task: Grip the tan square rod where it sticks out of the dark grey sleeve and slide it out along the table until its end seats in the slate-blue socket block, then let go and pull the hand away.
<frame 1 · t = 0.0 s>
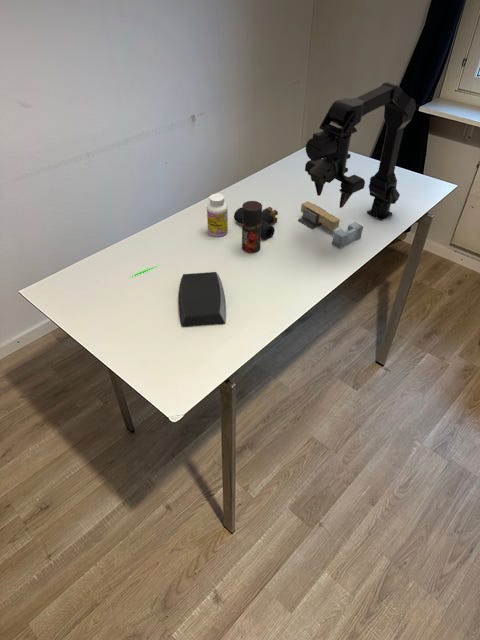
hand: (329, 201, 134), 15 cm above the table, tool pointing down, fingers open, 9 cm apart
slate-blue socket: (346, 241, 145), on the table
supplement bottle: (217, 232, 149), on the table
deodorant: (251, 248, 142), on the table
tan square rod: (319, 215, 150), point 3 cm above the table, slide at 0.0 cm
pen: (142, 274, 133), on the table
grey sleeve: (313, 221, 154), on the table
pipe connector: (260, 227, 152), on the table
external hard drive: (202, 303, 124), on the table
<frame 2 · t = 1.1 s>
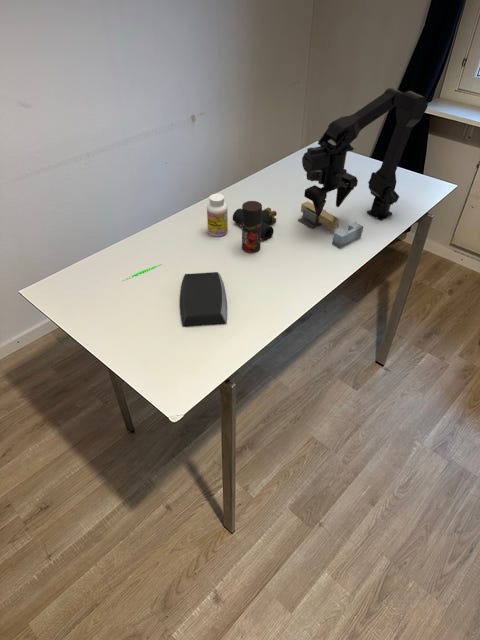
hand: (327, 211, 146), 6 cm above the table, tool pointing down, fingers open, 9 cm apart
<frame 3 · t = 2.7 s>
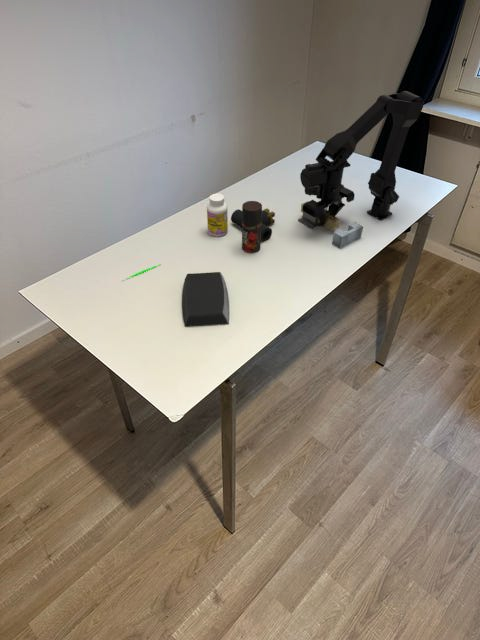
hand: (325, 224, 149), 2 cm above the table, tool pointing down, fingers closed on tan square rod, 3 cm apart
tan square rod: (319, 215, 150), point 3 cm above the table, slide at 0.0 cm, touching gripper
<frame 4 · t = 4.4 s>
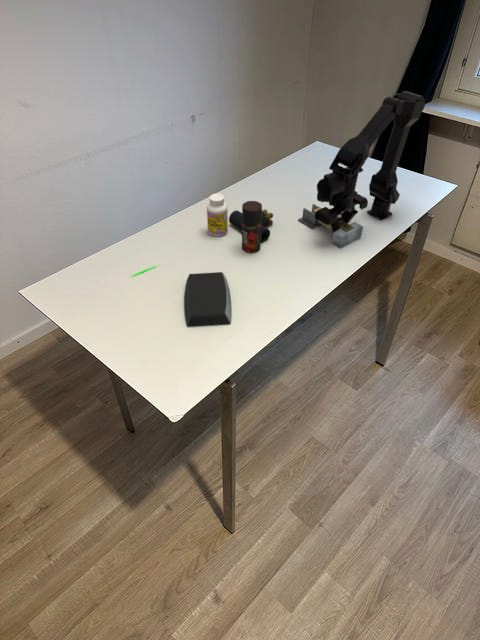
hand: (337, 231, 146), 2 cm above the table, tool pointing down, fingers closed on tan square rod, 3 cm apart
tan square rod: (331, 222, 147), point 3 cm above the table, slide at 5.5 cm, touching gripper
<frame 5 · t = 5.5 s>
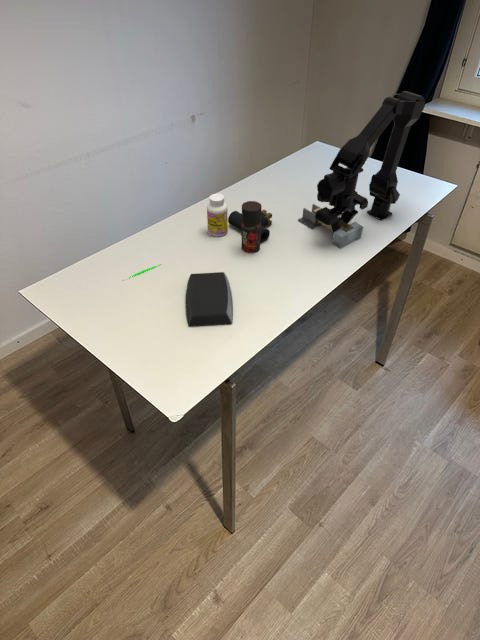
hand: (337, 231, 146), 2 cm above the table, tool pointing down, fingers closed on tan square rod, 3 cm apart
tan square rod: (331, 222, 147), point 3 cm above the table, slide at 5.5 cm, touching gripper
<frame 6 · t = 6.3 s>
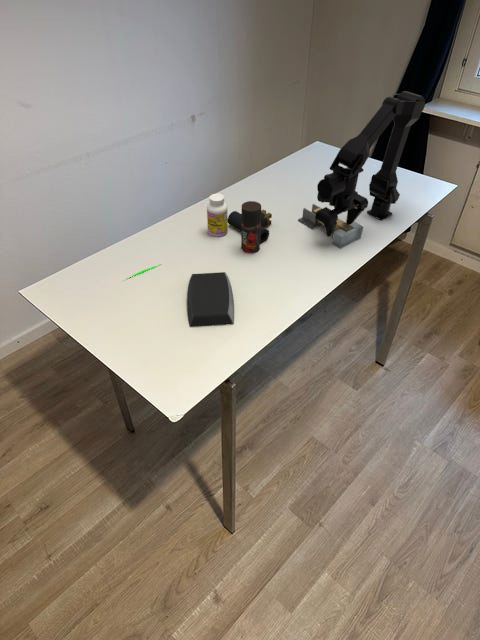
hand: (338, 231, 146), 2 cm above the table, tool pointing down, fingers open, 9 cm apart
tan square rod: (331, 222, 147), point 3 cm above the table, slide at 5.5 cm
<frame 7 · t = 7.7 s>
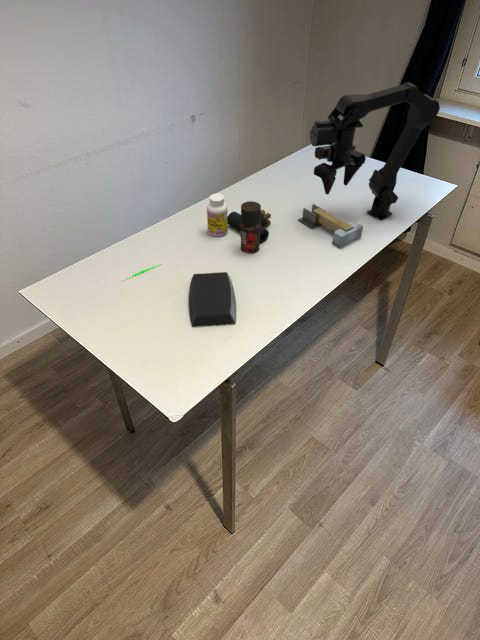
hand: (336, 189, 146), 12 cm above the table, tool pointing down, fingers open, 9 cm apart
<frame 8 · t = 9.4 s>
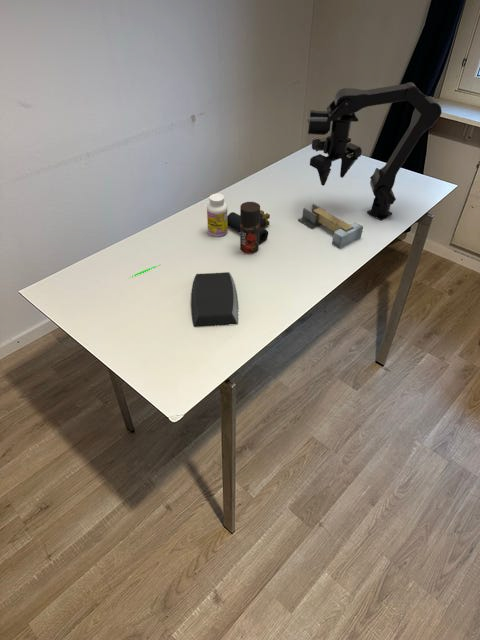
hand: (332, 181, 149), 12 cm above the table, tool pointing down, fingers open, 9 cm apart
at the end: tan square rod slide at 5.5 cm; the gripper is holding nothing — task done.
